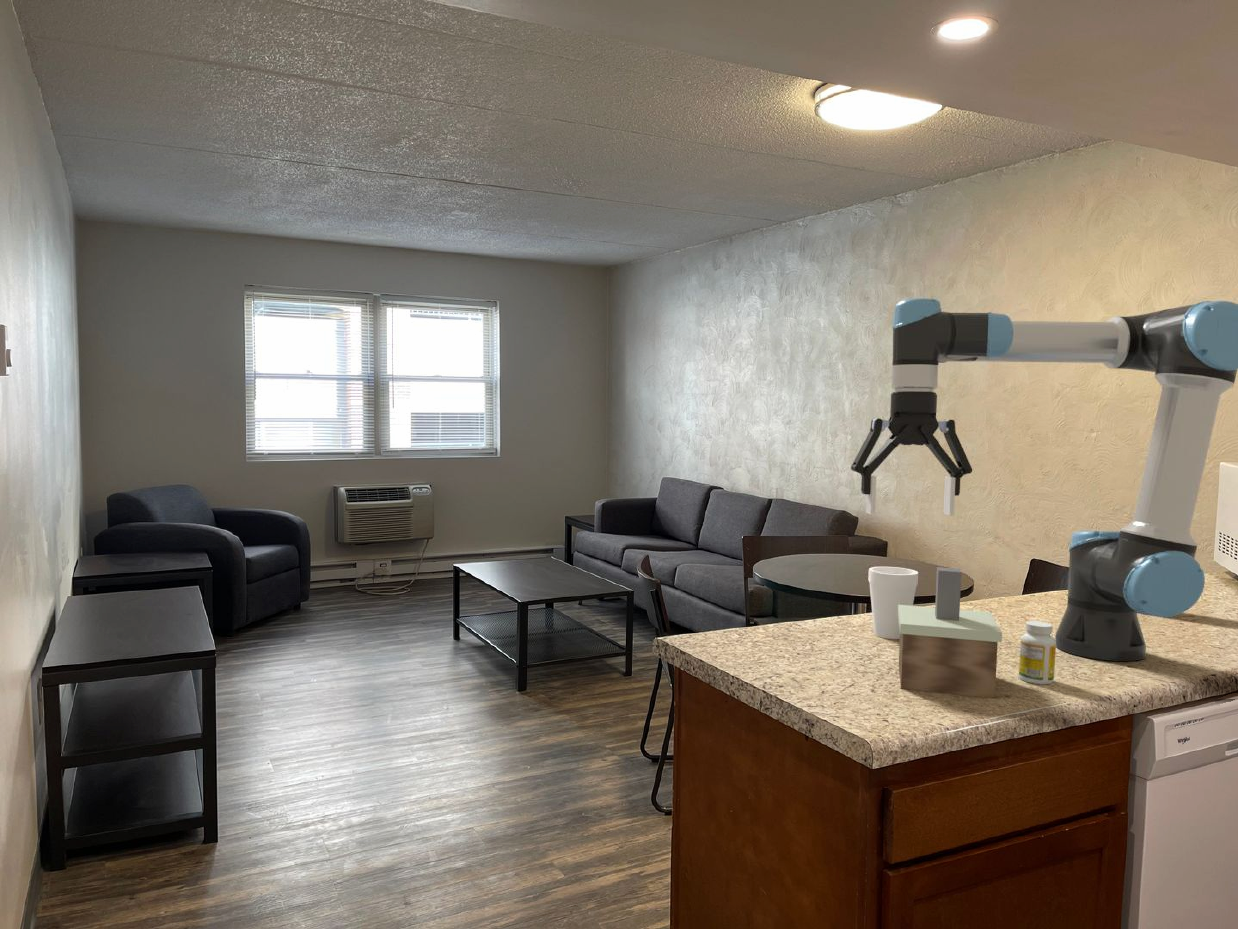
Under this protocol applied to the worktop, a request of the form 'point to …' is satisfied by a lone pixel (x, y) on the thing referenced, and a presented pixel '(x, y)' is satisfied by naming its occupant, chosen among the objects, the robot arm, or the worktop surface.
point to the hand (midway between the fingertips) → (909, 514)
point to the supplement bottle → (1037, 653)
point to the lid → (948, 614)
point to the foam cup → (890, 597)
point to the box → (948, 665)
